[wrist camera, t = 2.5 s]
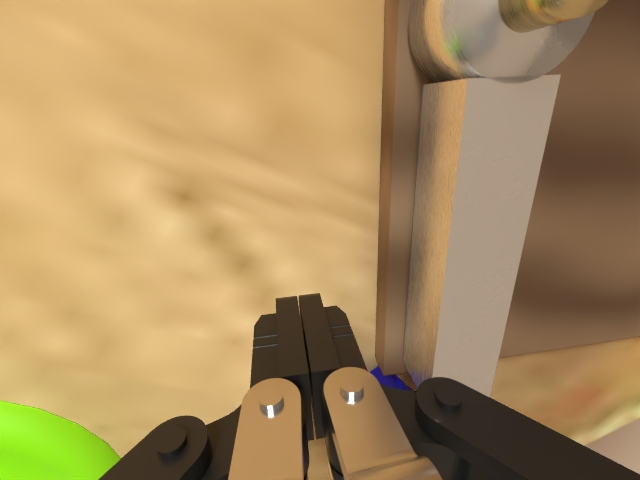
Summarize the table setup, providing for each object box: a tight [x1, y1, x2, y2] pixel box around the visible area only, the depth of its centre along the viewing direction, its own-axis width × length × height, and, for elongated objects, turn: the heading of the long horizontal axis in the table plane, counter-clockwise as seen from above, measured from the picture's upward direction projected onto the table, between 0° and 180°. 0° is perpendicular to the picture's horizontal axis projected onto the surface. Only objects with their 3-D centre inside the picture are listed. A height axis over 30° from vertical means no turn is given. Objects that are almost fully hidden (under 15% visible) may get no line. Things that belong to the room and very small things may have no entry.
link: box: [403, 0, 608, 397], centre depth 12 cm, size 18×4×5 cm, turn 3°
